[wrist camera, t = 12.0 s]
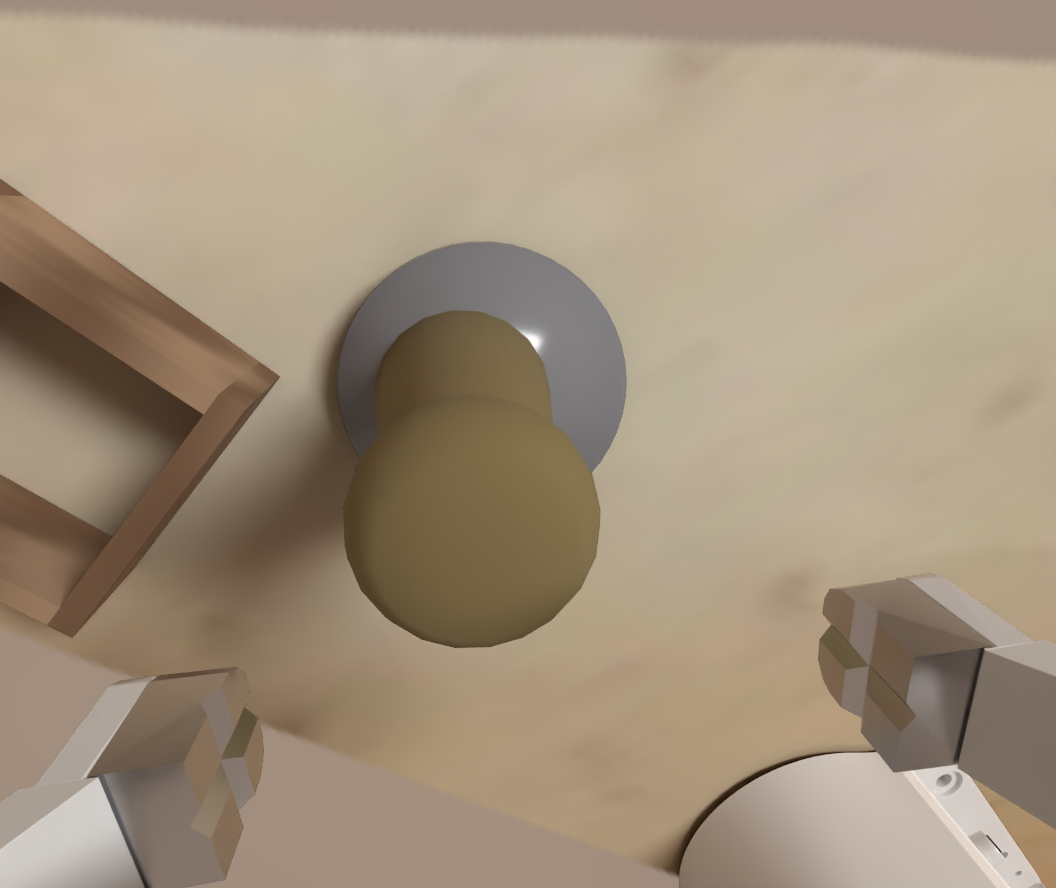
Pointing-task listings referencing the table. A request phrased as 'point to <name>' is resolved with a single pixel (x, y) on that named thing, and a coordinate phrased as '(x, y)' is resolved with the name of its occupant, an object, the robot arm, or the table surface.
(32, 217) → the walnut holder
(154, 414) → the table surface
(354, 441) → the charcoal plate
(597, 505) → the cork
